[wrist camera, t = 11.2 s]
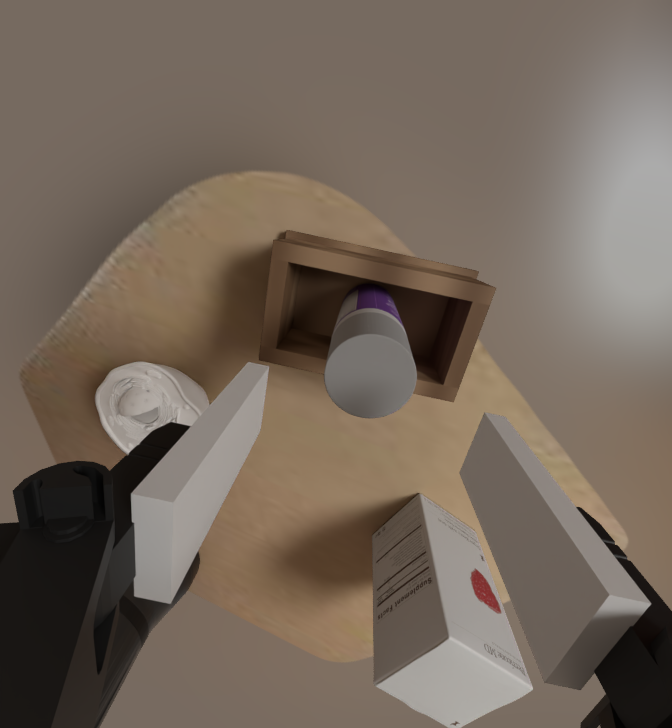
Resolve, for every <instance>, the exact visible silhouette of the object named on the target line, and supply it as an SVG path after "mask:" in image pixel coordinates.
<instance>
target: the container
mask: <svg viewBox="0 0 672 728" xmlns="http://www.w3.org/2000/svg"><path fill="white" fill-rule="evenodd" d="M324 381H325V386H326V389H327V392H328V394H329V396H330V397H331V399H332V400H333V401H334V403H335V404H336V405H337V406H338V407H340V408H341V409H342V410H344V411H345V412H347V413H349V414H351V415H354V416H357V417H362V418H379V417H384V416H387V415H389V414H392V413H394V412H395V411H397V410H399V409H400V408H401V407H402V406H404V405H405V404H406V402H407V401H408V400H409V399H410V397H411V396H412V394H413V392H414V389H415V386H416V381H417V371H416V366H415V363H414V359H413V356H412V352H411V349H410V345H409V342H408V338H407V335H406V332H405V329H404V326H403V324H402V321H401V319H400V316H399V314H398V311H397V309H396V306H395V304H394V301H393V299H392V297H391V295H390V293H389V292H388V291H387V290H386V289H385V288H383V287H382V286H380V285H378V284H374V283H363V284H359V285H357V286H355V287H353V288H352V289H351V290H350V291H349V292H348V293H347V294H346V296H345V298H344V300H343V303H342V306H341V309H340V312H339V315H338V318H337V322H336V325H335V328H334V331H333V334H332V338H331V343H330V348H329V352H328V357H327V361H326V366H325V371H324Z"/></svg>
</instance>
